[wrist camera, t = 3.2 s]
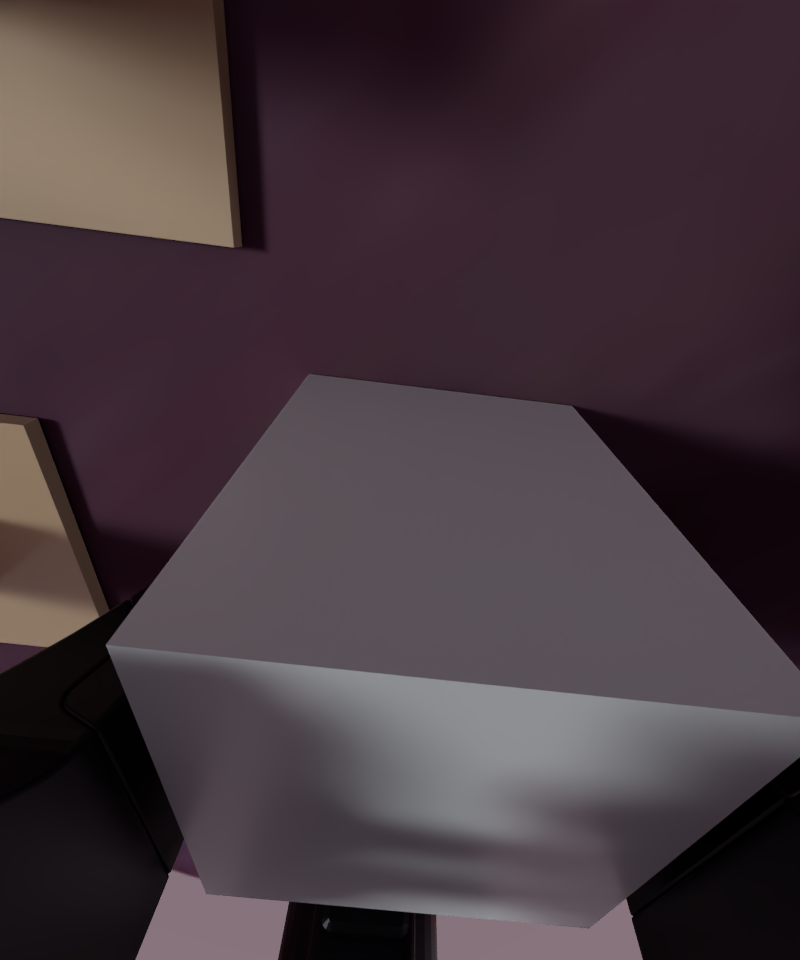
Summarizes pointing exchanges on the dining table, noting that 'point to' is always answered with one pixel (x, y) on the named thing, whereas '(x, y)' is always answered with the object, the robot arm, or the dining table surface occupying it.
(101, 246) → the dining table surface
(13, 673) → the robot arm
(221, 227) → the maple post
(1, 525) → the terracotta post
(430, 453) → the matte gray box
